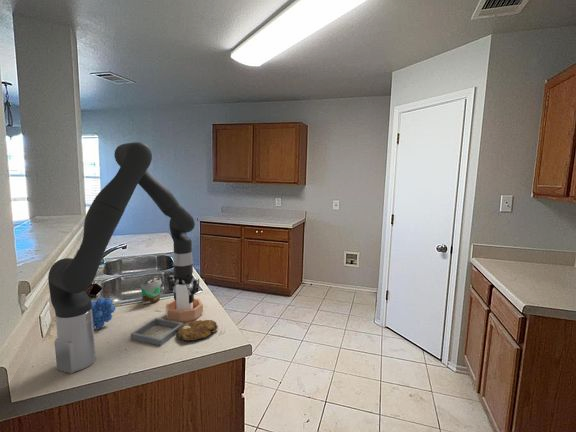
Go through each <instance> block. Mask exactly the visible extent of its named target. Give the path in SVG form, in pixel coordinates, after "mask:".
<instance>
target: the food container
mask: <svg viewBox="0 0 576 432" xmlns="http://www.w3.org/2000/svg"><path fill="white" fill-rule="evenodd" d="M162 284H163V283H162V279H161V277H159V276H157V275H152V277H151V279H149V280H147V281H146V282H145V283H144V284H140V285H141V286H140V290H141V295H142V296H141V297H142V305H143V306H148V305H149V306H150V305H154V304H156V303H158V302H159V301H160V300H161V299H160V296H161V285H162Z"/></svg>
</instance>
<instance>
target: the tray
mask: <svg viewBox="0 0 576 432" xmlns="http://www.w3.org/2000/svg"><path fill="white" fill-rule="evenodd" d="M183 324H185V322H184V323H181V322H175V321H170V320H168V319H163V318H159V317H155V318H153V319H152V320H150V321H148V322H147V323H145V324H143V325H142V326H141V327H139V328H138V329H136V330H134V331H133V332H131V333H130V340H133V341H138V342H143V343H147V344H152V345H156V346H163V345H164V344H166V343H167V342H168V341H170V339H171V340H172V338H173V337H174V336H177V335H176V333H177V332H178V329H179V328H180V327H181V326H182V325H183ZM155 325H160V326H164V327H169V328H173V329H171V330H170V331H168V332H167V333H166V334H164V335H163V336H161V338H159V337H155V336H150V335H145V334H143V333H145V332H147V331H149V330H150V329H151V328H153V327H155Z"/></svg>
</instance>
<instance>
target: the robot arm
mask: <svg viewBox="0 0 576 432" xmlns="http://www.w3.org/2000/svg"><path fill="white" fill-rule="evenodd" d="M114 160H115V162H116V164H117V165H118V166H119V169H118V171H117V173H116V174H115V176H114V177H113V178H112V179H111V180H110V181H109V182H108V183H107V184H106V185H105V186H104V187H103V188H101V190H100V191H99V192H98V194H96V196H95V198H94V199H93V201H92V202H91V204H90V207H89V208H88V210H87V212H86V214H85V219H84V224H83V236H82V241H81V243H80V246H79V249H78V250H77V251H76V254H75V255H74V257H73V258H70V257H65V258H61V259H59V260H57V261H56V262H54V263H53V264H52V265H51V266H50V268H49V271H48V278H47V279H48V290H49V295H50V301H51V303H50V304H51V305H52V307H53V309H54V314H55V323H56V336H57V338H56V339H54V351H55V354H54V355H55V363H56V370H58V371H61V372H65V373H68V374H74V373H75V372H78V371H81V370H84V369H86V368H88V367H90V366H91V365H92V364H94V363H95V361H96V357H97V356H96V346H95V344H96V343H95V331H94V329H95V328H94V329H93V314H92V302H93V301H92V298H90V296H89V295H88V294H87V292H86V290H87V289H89V288H90V286H91V285H92V283H93V282H94V280H95V278H96V277H97V276H96V275H97V272H98V271H99V268H100V265H101V262H102V259H103V256H104V254H105V252H106V249H107V247H108V246H109V243H110V241H111V239H112V237H113V235H114V233H115V230H116V228H117V226H118V225H119V222H120V221H121V219H122V216H123V215H124V213H125V211H126V208H127V206H128V204H129V202H130V201H131V198H132V197H133V194H134V192H135V190H136V188H137V186H138V185H139V186H140V187H141V188H142V189H143V190H144V192H145V193H147V195H148V196H149V197H150V198H151V200H152V201H153V202H154V204H155V205H156V206H157V207H158V209H159V210H160V211H161V212H162V213H163V215H165V217H169V218H170V220H169V231H170V235H171V239H172V243H173V254H172V255H173V256H172V261H173V262H172V265H173V266H172V268H173V274H171V275H169V276H168V277H167V282H168V289H169V291H171V292H173V300H174V299H175V301H176V285H177V284H179V283H180V284H186V287H187V290H188V291H189V303H192V302H193V301H194V298H195V294H197V293H199V287H200V279H199V278H194V276H193V273H194V268H193V267H194V264H193V263H194V261H193V260H194V259H193V248H192V245H193V244H192V243H193V242H192V239H191V238H190V237H189V236H188V235H187V233H190V232H192V231H193V230H194V228H195V225H196V223H195V220H194V217H193V215H192V214H191V213H190V212H189V211H187V210H186V209H185V207H183V205H181V204H180V203H179V202H178V200H177V199H176V196H175V195H174V194H173V193H172V192H171V190H170V189H169V188H168V187H167V186H166V185H165V184H163V183H162V182H161V181H160V180H159V179H157V178H156V177H155V176H154V175H153V174H152V173H151V172H150V171H149V169H148V168H149V167H150V165H151V163H152V160H153V152H152V150H151V148H150V147H149V145H148V144H146V143H145V142H140V141H139V142H137V141H135V142H127V143H123V144H120V145H117V147H116V148H115V150H114ZM187 284H188V285H189V284H191V285H192V286H191V288H192V291H191V290H190V289H191V288H189V287H188V285H187Z"/></svg>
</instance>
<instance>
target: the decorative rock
mask: <svg viewBox="0 0 576 432" xmlns="http://www.w3.org/2000/svg"><path fill="white" fill-rule="evenodd" d="M218 328H219V326H218V323H217V321H215V320H213V319H205V320H201V319H199V320H193V321H190V322H184V324H183V325H182V326H181V327H180V328H179V329H178V332H177V333H176V335H175V336H176V338H177V339H178V340H182V341H188V342H189V341H190V340H191V341H196V340H199V339H204V338H207V337H209V336H210V335H211V334H213V333H217V330H219V329H218Z"/></svg>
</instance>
